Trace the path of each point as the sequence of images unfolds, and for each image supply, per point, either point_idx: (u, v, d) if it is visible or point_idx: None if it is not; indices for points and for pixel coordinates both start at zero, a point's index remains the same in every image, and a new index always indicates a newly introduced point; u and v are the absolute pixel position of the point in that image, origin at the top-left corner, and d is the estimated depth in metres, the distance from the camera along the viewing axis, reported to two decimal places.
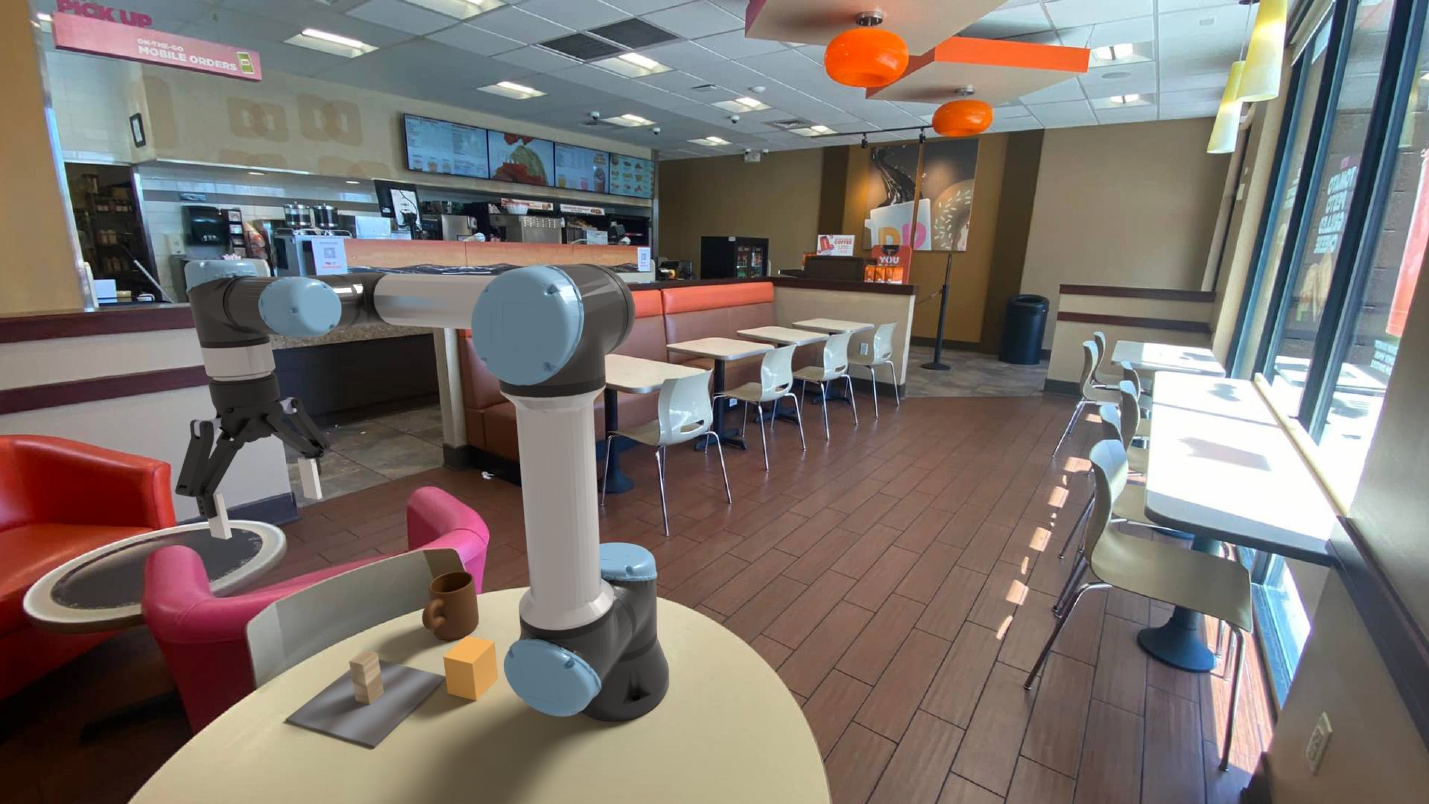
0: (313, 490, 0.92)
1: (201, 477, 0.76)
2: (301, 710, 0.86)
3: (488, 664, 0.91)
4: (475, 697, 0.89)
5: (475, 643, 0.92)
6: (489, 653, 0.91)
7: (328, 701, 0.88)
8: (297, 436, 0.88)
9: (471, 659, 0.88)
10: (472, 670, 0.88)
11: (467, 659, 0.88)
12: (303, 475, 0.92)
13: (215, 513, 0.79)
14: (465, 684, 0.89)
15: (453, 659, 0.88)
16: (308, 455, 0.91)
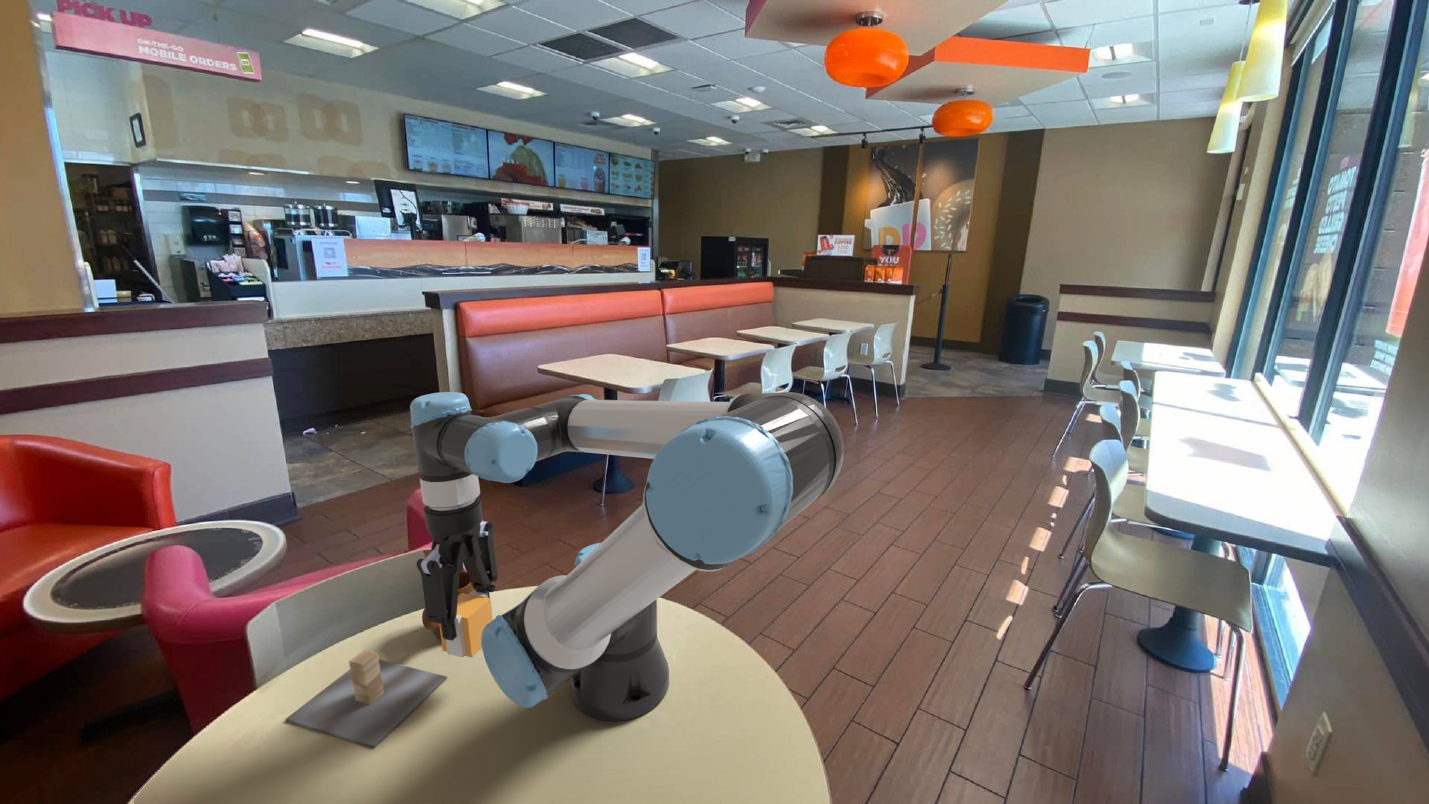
0: None
1: (444, 605, 0.82)
2: (301, 710, 0.86)
3: (483, 621, 0.89)
4: (470, 653, 0.87)
5: (471, 599, 0.90)
6: (485, 609, 0.89)
7: (328, 701, 0.88)
8: (482, 564, 0.89)
9: (466, 614, 0.86)
10: (467, 625, 0.86)
11: (462, 614, 0.86)
12: None
13: (455, 634, 0.85)
14: None
15: None
16: (479, 588, 0.91)
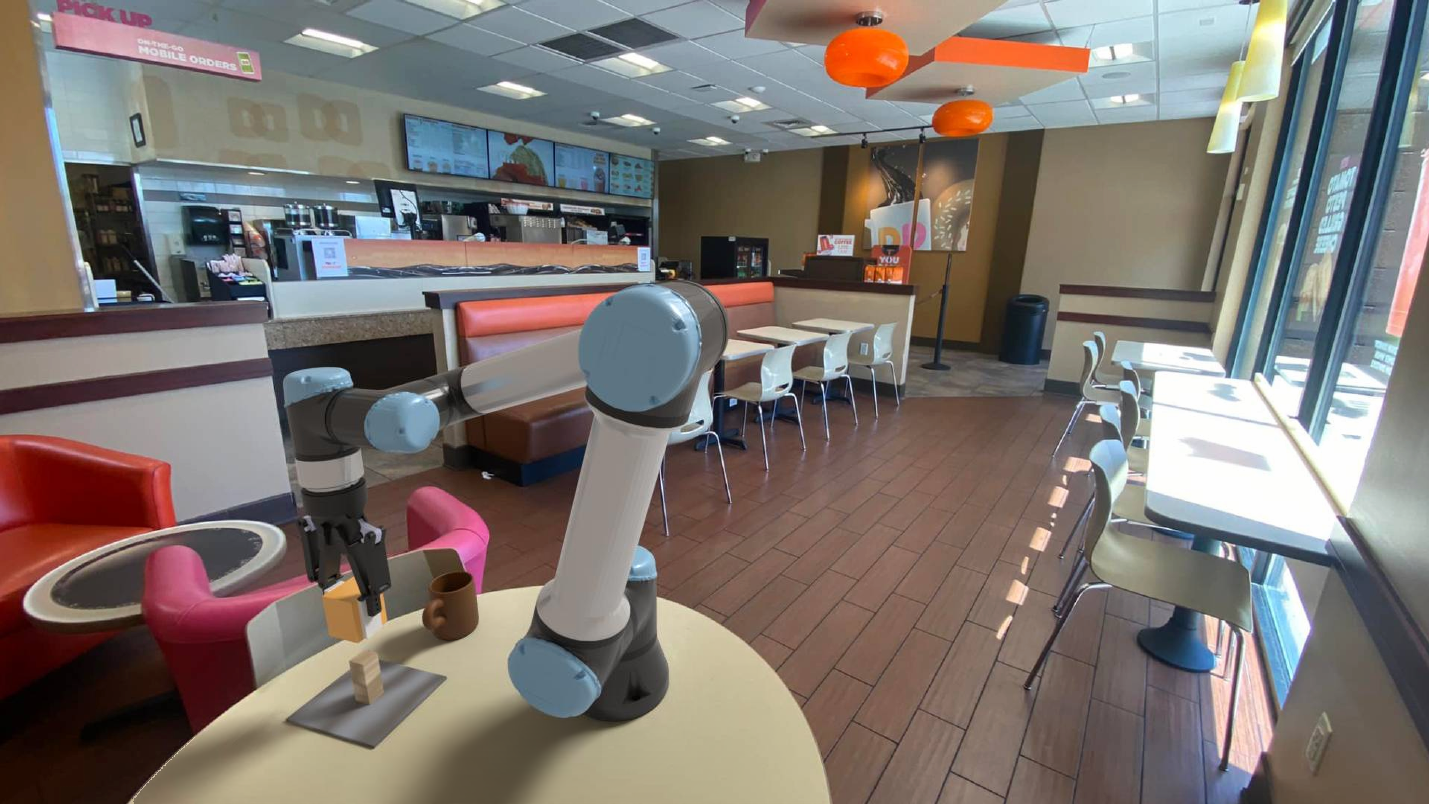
0: None
1: (311, 567, 0.84)
2: (301, 710, 0.86)
3: (343, 617, 0.83)
4: (330, 631, 0.85)
5: None
6: (344, 608, 0.82)
7: (328, 701, 0.88)
8: (355, 566, 0.81)
9: (330, 594, 0.84)
10: None
11: (333, 591, 0.84)
12: None
13: None
14: None
15: (343, 583, 0.86)
16: None
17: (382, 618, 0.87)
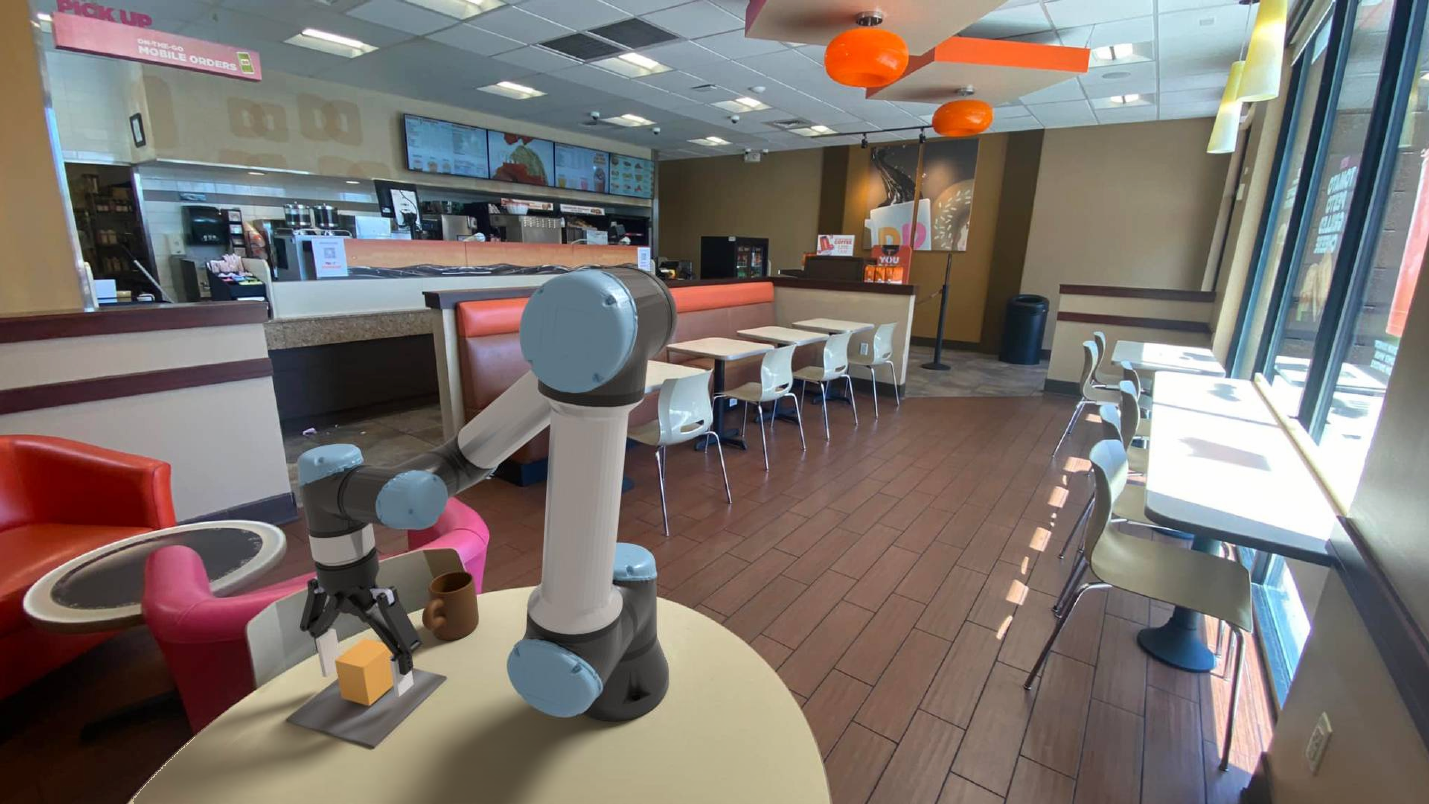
0: None
1: (307, 620, 0.87)
2: (301, 710, 0.86)
3: (355, 680, 0.86)
4: (342, 693, 0.88)
5: (371, 654, 0.87)
6: (356, 672, 0.85)
7: (328, 701, 0.88)
8: (378, 629, 0.83)
9: (343, 658, 0.86)
10: None
11: (346, 655, 0.87)
12: None
13: None
14: None
15: (354, 646, 0.89)
16: None
17: (392, 679, 0.90)
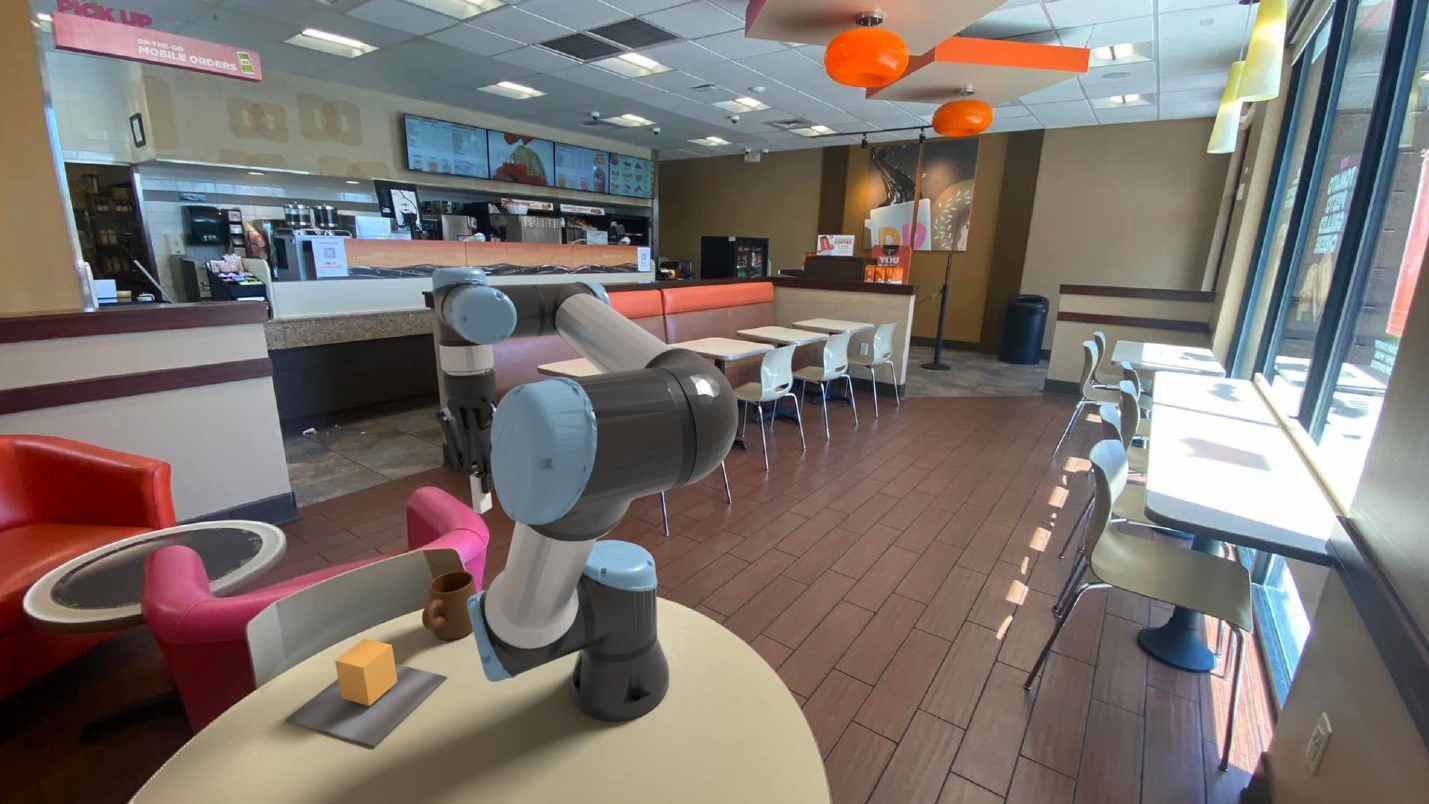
0: None
1: (455, 454, 0.94)
2: (301, 710, 0.86)
3: (355, 680, 0.86)
4: (342, 693, 0.88)
5: (371, 654, 0.87)
6: (356, 672, 0.85)
7: (328, 701, 0.88)
8: (479, 446, 0.93)
9: (343, 658, 0.86)
10: None
11: (346, 655, 0.87)
12: None
13: None
14: None
15: (354, 646, 0.89)
16: None
17: (392, 679, 0.90)
